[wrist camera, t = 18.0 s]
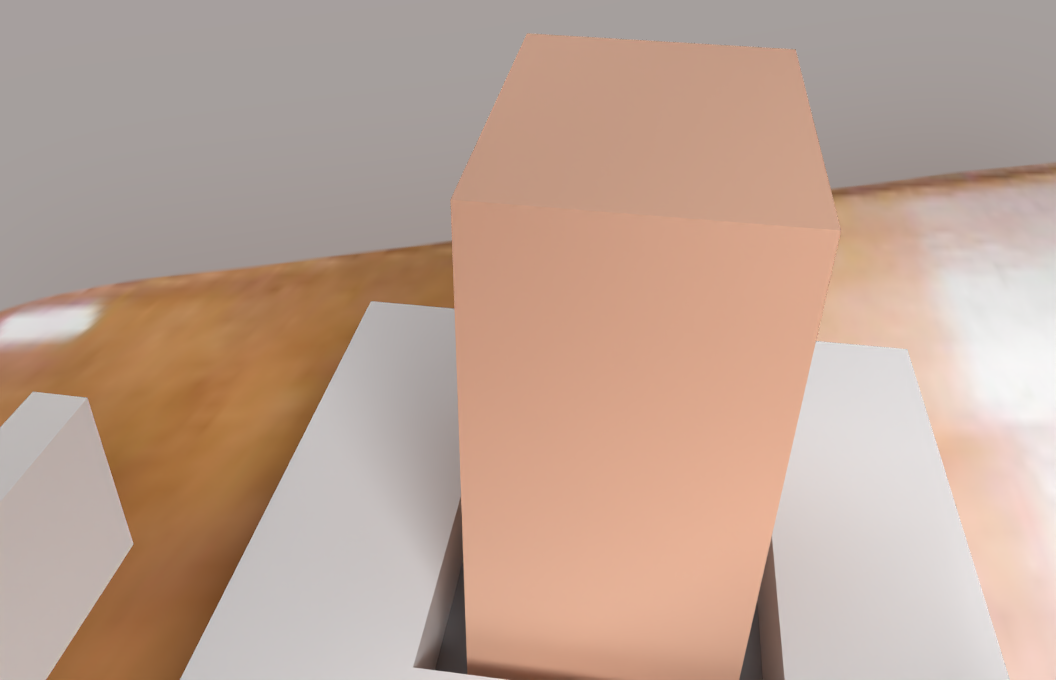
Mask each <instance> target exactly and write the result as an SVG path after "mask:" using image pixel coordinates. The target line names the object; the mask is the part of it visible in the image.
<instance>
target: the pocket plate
mask: <svg viewBox="0 0 1056 680" xmlns="http://www.w3.org/2000/svg"><path fill="white" fill-rule="evenodd" d="M180 680H506V679H498V678H490V677H483V676H475V675H467V649H466V621H465V592H464V564H463V536H462V507H461V479H460V451H459V423H458V394H457V366H456V338H455V309H453V308H441V307H430V306H419V305H408V304H397V303H386V302H374V301H371V302H370V304H369V306H368V308H367V310H366V312H365V314H364V316H363V318H362V320H361V322H360V324H359V326H358V328H357V330H356V332H355V334H354V336H353V338H352V340H351V342H350V344H349V346H348V348H347V350H346V352H345V354H344V356H343V358H342V360H341V362H340V364H339V366H338V367H337V369H336V371H335V373H334V375H333V377H332V379H331V381H330V383H329V385H328V387H327V389H326V391H325V393H324V395H323V397H322V399H321V401H320V403H319V405H318V407H317V409H316V411H315V413H314V415H313V417H312V419H311V421H310V423H309V425H308V427H307V429H306V431H305V433H304V435H303V437H302V439H301V441H300V443H299V445H298V447H297V449H296V451H295V453H294V455H293V457H292V459H291V461H290V463H289V465H288V467H287V469H286V471H285V473H284V475H283V476H282V478H281V480H280V482H279V484H278V486H277V488H276V490H275V492H274V494H273V496H272V498H271V500H270V502H269V504H268V506H267V508H266V510H265V512H264V514H263V516H262V518H261V520H260V522H259V524H258V526H257V528H256V530H255V532H254V534H253V536H252V538H251V540H250V542H249V544H248V546H247V548H246V550H245V552H244V554H243V556H242V558H241V560H240V562H239V564H238V566H237V568H236V570H235V572H234V574H233V576H232V578H231V580H230V582H229V583H228V585H227V587H226V589H225V591H224V593H223V595H222V597H221V599H220V601H219V603H218V605H217V607H216V609H215V611H214V613H213V615H212V617H211V619H210V621H209V623H208V625H207V627H206V629H205V631H204V633H203V635H202V637H201V639H200V641H199V643H198V645H197V647H196V649H195V651H194V653H193V655H192V657H191V659H190V661H189V663H188V665H187V667H186V669H185V671H184V673H183V675H182V677H181V679H180ZM739 680H1010V679H1009V676H1008V672H1007V669H1006V666H1005V663H1004V660H1003V656H1002V653H1001V650H1000V647H999V643H998V640H997V637H996V634H995V631H994V627H993V624H992V621H991V618H990V614H989V611H988V608H987V605H986V602H985V598H984V595H983V592H982V589H981V585H980V582H979V579H978V576H977V573H976V569H975V566H974V563H973V560H972V556H971V553H970V550H969V547H968V544H967V540H966V537H965V534H964V531H963V527H962V524H961V521H960V518H959V514H958V511H957V508H956V505H955V502H954V498H953V495H952V492H951V489H950V485H949V482H948V479H947V476H946V473H945V469H944V466H943V463H942V460H941V456H940V453H939V450H938V447H937V444H936V440H935V437H934V434H933V431H932V427H931V424H930V421H929V418H928V415H927V411H926V408H925V405H924V402H923V398H922V395H921V392H920V389H919V386H918V382H917V379H916V376H915V373H914V369H913V366H912V363H911V360H910V356H909V353H908V350H907V349H899V348H888V347H876V346H865V345H854V344H843V343H832V342H821V341H816V343H815V348H814V352H813V357H812V361H811V365H810V370H809V374H808V379H807V383H806V387H805V392H804V396H803V401H802V405H801V409H800V414H799V418H798V423H797V427H796V431H795V436H794V440H793V445H792V449H791V454H790V458H789V462H788V467H787V471H786V476H785V480H784V484H783V489H782V493H781V498H780V502H779V506H778V511H777V515H776V520H775V524H774V528H773V533H772V537H771V542H770V546H769V550H768V555H767V559H766V564H765V568H764V572H763V577H762V581H761V586H760V590H759V594H758V599H757V603H756V608H755V612H754V617H753V621H752V625H751V630H750V634H749V639H748V643H747V647H746V652H745V656H744V661H743V665H742V669H741V674H740V678H739Z"/></svg>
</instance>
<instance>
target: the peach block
mask: <svg viewBox="0 0 1056 680" xmlns="http://www.w3.org/2000/svg"><path fill="white" fill-rule="evenodd" d="M451 222H452V223H451V224H452V253H453V281H454V309H455V338H456V366H457V394H458V423H459V451H460V479H461V507H462V536H463V564H464V592H465V621H466V649H467V675H475V676H483V677H490V678H498V679H506V680H739V678H740V674H741V669H742V665H743V661H744V656H745V652H746V647H747V643H748V639H749V634H750V630H751V625H752V621H753V617H754V612H755V608H756V603H757V599H758V594H759V590H760V586H761V581H762V577H763V572H764V568H765V564H766V559H767V555H768V550H769V546H770V542H771V537H772V533H773V528H774V524H775V520H776V515H777V511H778V506H779V502H780V498H781V493H782V489H783V484H784V480H785V476H786V471H787V467H788V462H789V458H790V454H791V449H792V445H793V440H794V436H795V431H796V427H797V423H798V418H799V414H800V409H801V405H802V401H803V396H804V392H805V387H806V383H807V379H808V374H809V370H810V365H811V361H812V357H813V352H814V348H815V343H816V339H817V335H818V330H819V326H820V321H821V317H822V313H823V308H824V304H825V299H826V295H827V291H828V286H829V282H830V277H831V273H832V269H833V264H834V260H835V255H836V251H837V246H838V242H839V238H840V233H841V228H840V224H839V220H838V216H837V212H836V208H835V204H834V200H833V196H832V192H831V188H830V184H829V180H828V176H827V172H826V169H825V165H824V161H823V157H822V153H821V149H820V145H819V141H818V137H817V133H816V129H815V125H814V121H813V117H812V113H811V109H810V105H809V101H808V97H807V93H806V89H805V85H804V81H803V77H802V73H801V69H800V65H799V61H798V57H797V53H796V50H795V49H779V48H762V47H746V46H728V45H711V44H695V43H678V42H662V41H645V40H627V39H612V38H595V37H578V36H561V35H544V34H527V35H526V37H525V39H524V41H523V43H522V46H521V48H520V50H519V52H518V54H517V56H516V59H515V61H514V63H513V65H512V67H511V70H510V72H509V74H508V76H507V78H506V81H505V82H504V85H503V87H502V89H501V92H500V94H499V95H498V98H497V100H496V102H495V104H494V106H493V109H492V111H491V113H490V115H489V117H488V119H487V122H486V124H485V126H484V128H483V130H482V132H481V135H480V137H479V139H478V141H477V143H476V146H475V148H474V150H473V152H472V154H471V157H470V159H469V161H468V163H467V165H466V167H465V169H464V172H463V174H462V176H461V178H460V180H459V183H458V185H457V187H456V189H455V191H454V194H453V196H452V198H451Z"/></svg>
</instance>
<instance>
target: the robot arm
mask: <svg viewBox="0 0 1056 680" xmlns="http://www.w3.org/2000/svg"><path fill="white" fill-rule="evenodd" d="M132 546H133V541H132V538H131V535H130V531H129V528H128V525H127V522H126V519H125V516H124V512H123V509H122V506H121V503H120V500H119V497H118V493H117V490H116V487H115V484H114V481H113V477H112V474H111V471H110V468H109V465H108V462H107V458H106V455H105V452H104V449H103V446H102V443H101V439H100V436H99V433H98V430H97V427H96V424H95V420H94V417H93V414H92V411H91V408H90V405H89V401H88V398H85V397H76V396H67V395H58V394H49V393H40V392H32V393H31V394H30V395H29V397H28V398H27V399H26V400H25V401H24V402H23V403H22V404H21V405H20V406H19V407H18V409H17V410H16V411H15V412H14V413H13V414H12V415H11V416H10V417H9V418H8V419H7V420H6V422H5V423H4V424H3V425H2V426H1V427H0V680H46V679H47V677H48V676H49V674H50V673H51V671H52V670H53V668H54V667H55V665H56V664H57V662H58V660H59V659H60V657H61V656H62V654H63V653H64V651H65V650H66V648H67V646H68V645H69V643H70V642H71V640H72V639H73V637H74V636H75V634H76V633H77V631H78V629H79V628H80V626H81V625H82V623H83V622H84V620H85V619H86V617H87V616H88V614H89V612H90V611H91V609H92V608H93V606H94V605H95V603H96V602H97V600H98V598H99V597H100V595H101V594H102V592H103V591H104V589H105V588H106V586H107V585H108V583H109V581H110V580H111V578H112V577H113V575H114V574H115V572H116V571H117V569H118V568H119V566H120V564H121V563H122V561H123V560H124V558H125V557H126V555H127V554H128V552H129V550H130V549H131V547H132Z"/></svg>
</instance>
